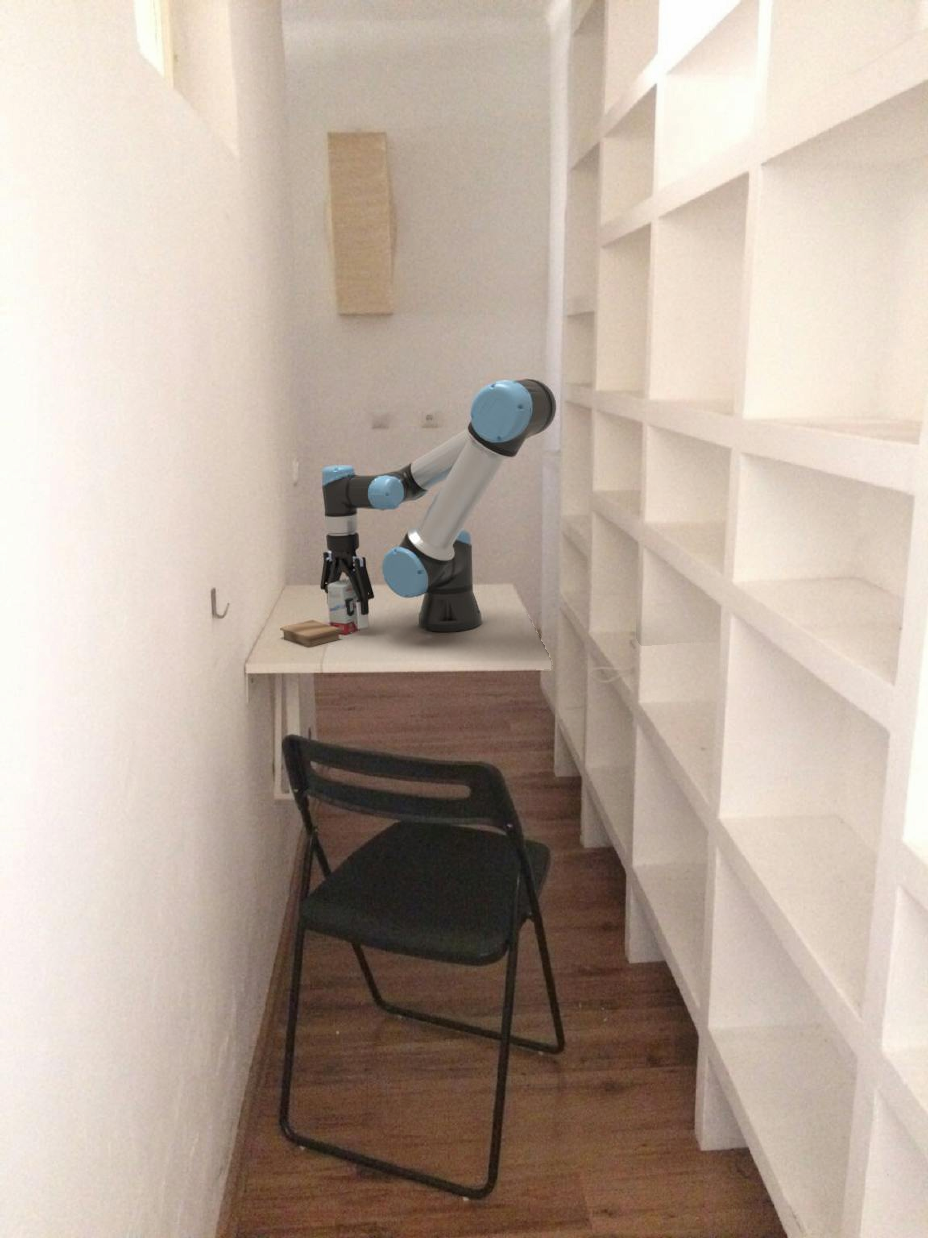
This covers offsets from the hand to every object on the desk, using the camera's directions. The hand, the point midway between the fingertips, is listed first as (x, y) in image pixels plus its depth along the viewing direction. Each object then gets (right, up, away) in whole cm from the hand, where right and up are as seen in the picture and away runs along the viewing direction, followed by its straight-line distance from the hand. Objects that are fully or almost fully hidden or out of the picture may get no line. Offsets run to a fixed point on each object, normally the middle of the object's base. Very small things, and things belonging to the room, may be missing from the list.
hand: (348, 623), depth 231 cm
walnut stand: (-8, -3, -6) cm, 11 cm away
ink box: (0, -2, 0) cm, 2 cm away
